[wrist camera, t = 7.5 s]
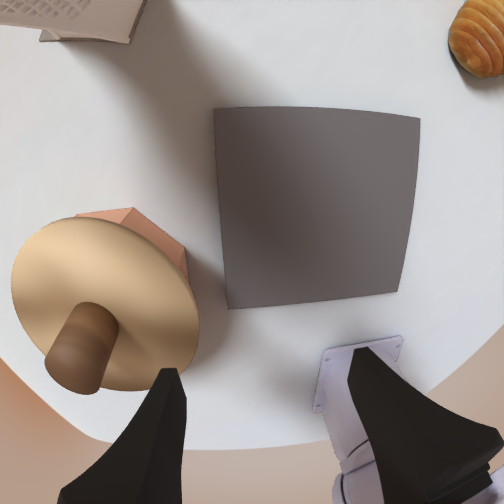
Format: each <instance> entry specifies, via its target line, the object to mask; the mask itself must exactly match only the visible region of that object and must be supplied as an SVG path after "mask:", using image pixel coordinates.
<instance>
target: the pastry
mask: <svg viewBox="0 0 504 504" xmlns="http://www.w3.org/2000/svg"><path fill="white" fill-rule="evenodd" d="M448 44H449V46H450V49H451V51H452V52H453V54H454V56H455V58H456V59H457V61H458V62H459V64H460V65H461V66H462V67H463V68H464V69H465V70H466V71H468V72H470V73H472V74H473V75H475V76H477V77H478V78H485V77H489V76H490V77H496V76H498V75H500V74H504V0H467V1H465V3H464V5H463V6H462V7H461V9H460V10H459V11H458V13H457V16H456V17H455V19H454V21H453V23H452V25H451V27H450V29H449V38H448Z"/></svg>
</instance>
